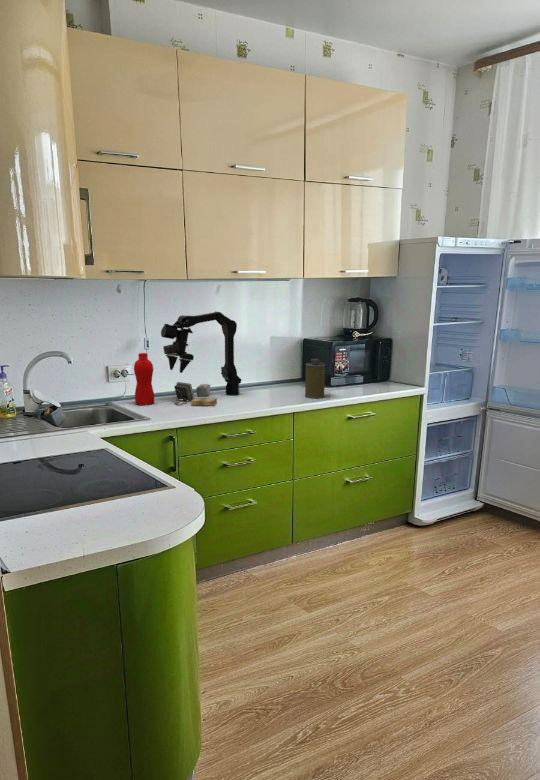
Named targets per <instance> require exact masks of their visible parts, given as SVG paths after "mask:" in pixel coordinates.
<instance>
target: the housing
mask: <svg viewBox="0 0 540 780" xmlns="http://www.w3.org/2000/svg"><path fill="white" fill-rule="evenodd" d="M209 394H210V395H211V385H210V384H209V383H205V384H204V383H200V384H199V385H198V386H196V398H208V397H209V396H210V395H209ZM208 395H209V396H208ZM207 396H208V397H207Z"/></svg>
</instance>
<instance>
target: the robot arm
mask: <svg viewBox="0 0 540 780" xmlns="http://www.w3.org/2000/svg"><path fill="white" fill-rule="evenodd" d="M212 321H216V322H217V324H219V325H220V326H221V331H222V333H223V335H224V365H223V366H220V369H221V370H220V371H221V373H220V375H221V377H222V378H223V380H224V382H225V383H226V385H225V395H226V396H232V395H233V396H239V394H240V392H241V391H240V384H242V378H241V377H240V376H238V371H237V368H236V365H235V347H234V346H235V344H234V343H235V342H234V341H235V339H234V338H235V335H236V333H237V328H238V324H237V322H236V321H235V320H232V319H230V317H227V316H226V315H224V314H223V312H220V311H214V312H209V313H203V314H198V315H183V314H182V315H179V316H178V318H177V320H176V321H175V322H174V323H173V324H169V323H164V324H163V327H162V328H161V331H160V336H161V338H163V339H164V338H166V339H171V340H173V341H172V344H168V345H163V346H162V347H163V353H164V355H165V357H166V358H167V359H168V364H169V370H170V371H173V369H174V368H175V364H176V363H177V360H178V361H179V364H180V365H179V373H180V374H182V373H183V372H184V370H185V369H186V368H187V366H188V365H189V364H190V363H191V362H192V361H194V358H195V357H194V354H192V353H187V351H186V349H187V347H189V344H188V338H189V334H194V333H193V332H194V331H193V330H192V329H191V327H193V326H196V325H198V324H201V323H208V322H212ZM174 339H175V341H174Z"/></svg>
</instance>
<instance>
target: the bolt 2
mask: <svg viewBox="0 0 540 780" xmlns="http://www.w3.org/2000/svg"><path fill="white" fill-rule="evenodd" d="M176 401H177V403H180V404H182V405H186V404H187V401H179V400H176Z"/></svg>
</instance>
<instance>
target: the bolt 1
mask: <svg viewBox="0 0 540 780" xmlns="http://www.w3.org/2000/svg"><path fill="white" fill-rule="evenodd" d="M177 401H178V400H174V401H173V405H174V406H180V407H182V406H183V404H180V403H177ZM175 404H176V405H175ZM181 405H182V406H181Z"/></svg>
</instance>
